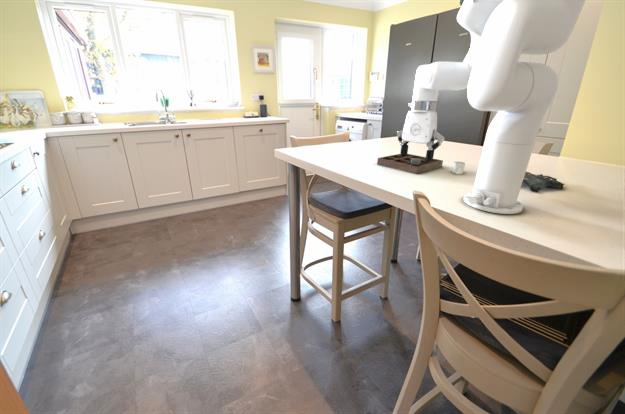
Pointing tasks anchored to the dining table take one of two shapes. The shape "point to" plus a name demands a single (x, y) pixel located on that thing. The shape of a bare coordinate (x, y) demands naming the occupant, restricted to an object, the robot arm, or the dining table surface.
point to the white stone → (458, 167)
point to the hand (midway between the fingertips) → (415, 158)
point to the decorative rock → (540, 181)
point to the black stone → (415, 161)
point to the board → (404, 163)
